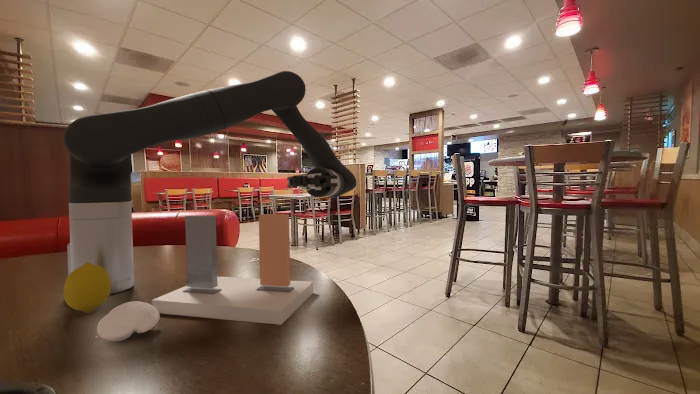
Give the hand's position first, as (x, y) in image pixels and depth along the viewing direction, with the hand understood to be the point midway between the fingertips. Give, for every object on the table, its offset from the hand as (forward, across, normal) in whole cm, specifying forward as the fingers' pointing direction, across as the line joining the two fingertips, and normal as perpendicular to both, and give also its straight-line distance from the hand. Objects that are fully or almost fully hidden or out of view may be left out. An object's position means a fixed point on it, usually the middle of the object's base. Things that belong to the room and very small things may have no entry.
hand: (296, 180), depth 58 cm
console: (+12, -6, +21) cm, 25 cm away
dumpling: (+25, -13, +21) cm, 35 cm away
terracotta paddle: (+10, 0, +19) cm, 21 cm away
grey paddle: (+13, -12, +19) cm, 26 cm away
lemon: (+20, -27, +21) cm, 40 cm away
